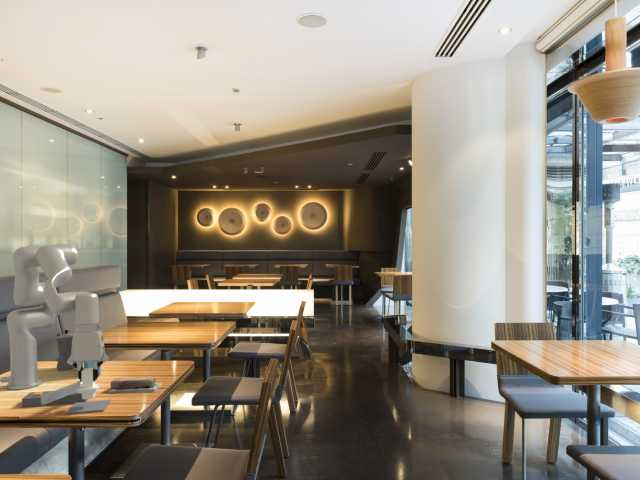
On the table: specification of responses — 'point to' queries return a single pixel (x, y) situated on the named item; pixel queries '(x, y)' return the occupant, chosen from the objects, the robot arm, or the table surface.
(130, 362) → the table surface
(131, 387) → the packaged product
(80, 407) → the mat
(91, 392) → the plug
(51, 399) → the grey long bar
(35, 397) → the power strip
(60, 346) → the coffeepot
